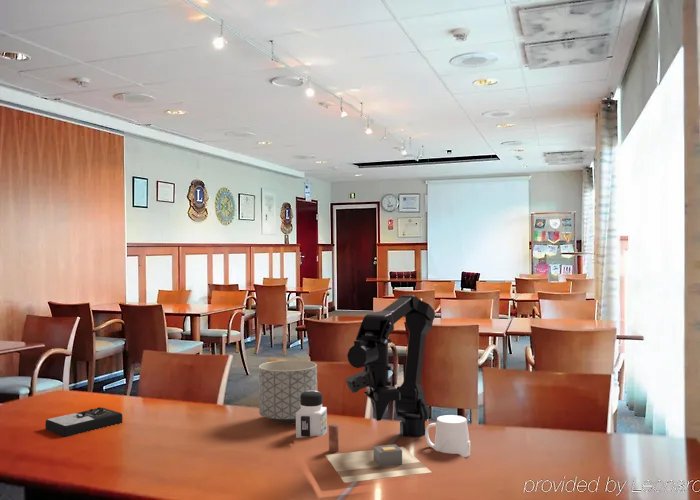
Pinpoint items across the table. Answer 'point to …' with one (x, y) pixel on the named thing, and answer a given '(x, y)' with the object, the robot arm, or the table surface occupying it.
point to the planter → (284, 388)
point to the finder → (387, 455)
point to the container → (311, 415)
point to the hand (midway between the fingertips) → (378, 420)
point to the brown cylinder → (333, 438)
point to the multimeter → (83, 421)
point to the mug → (450, 435)
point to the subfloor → (373, 466)
